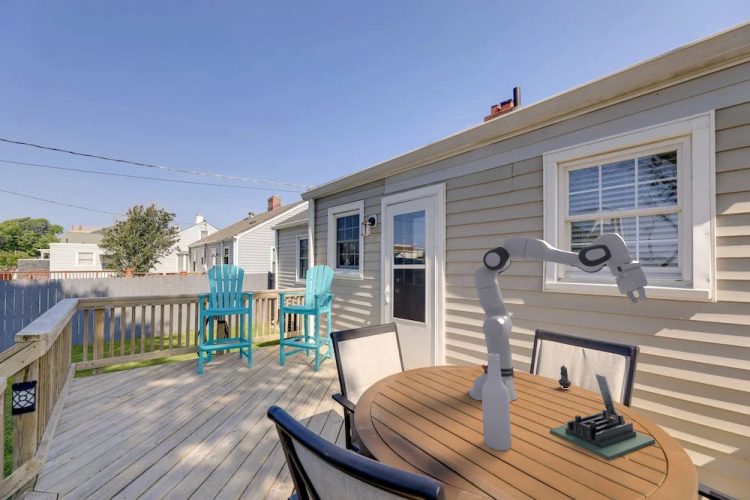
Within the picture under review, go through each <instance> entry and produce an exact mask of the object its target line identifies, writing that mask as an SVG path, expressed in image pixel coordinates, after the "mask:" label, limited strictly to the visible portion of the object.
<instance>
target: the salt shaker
mask: <svg viewBox="0 0 750 500" xmlns="http://www.w3.org/2000/svg"><path fill="white" fill-rule="evenodd" d="M559 373H560V378H559V379H558V380H557V381H558V384H559V385H560V387H561V386H563V388H568V387H569V388H570V387H571V385H572V382H571V381H570V380H569V377H568V375H569V373H568V368H567V367H566V366H565V365H564V364H563V365H562V366H561V367H560V372H559Z"/></svg>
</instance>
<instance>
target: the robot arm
mask: <svg viewBox="0 0 750 500" xmlns="http://www.w3.org/2000/svg"><path fill="white" fill-rule="evenodd" d="M629 251H630V250H629V248H628V246H627V244H626V243H625V241H624V239H623V238H622V237H621V235H620V234H618V233H615V232H606V233H603V234H599V235H598V236H597V237H596V239H595V240H593V242H592V243H590V244H589V245H586V246H585V247H583V248H582V249H581V250H580V251H579V252H574V251H573V252H572V251H567V250H561V249H557V248H555V247H554V246H551V245H550V244H549V243H547V242H546V241H545V240H542V239H539V238H535V237H527V236H510V237H507V238H505V239H504V241H503V243H502V246H498V247H495V248H492V249H490V250H487V252H485V254H484V255H483V258H482V261H483V265H482V266H480V267H478V268H477V269H475V271H474V283H475V287H476V292H477V295H478V299H479V300H478V301H479V304H480V306H481V308H482V309H483V311H484V314H485V316H486V319H485V320H484V321H483V324H482V331H483V333H484V339H485V343H486V344H485V345H486V349H487V350H486V351H487V355H488V354H489V353H495V354H498V355H499V358H500V360H499V362H500V370H501V378H502V382H503V383H504V385H505V386H506V387H507V389H508V392H509V404H510V403H511V402H512V401H515V400H517V399H518V395H517V391H516V388H515V387H516V386H515V381H514V379H515V378H514V377H515V372H514V371H515V370H514V367H513V359H512V358H513V357H512V348H511V344H510V339H509V334H510V333H511V331H512V329H513V321H512V319H511V317H510V314H509V311H508V309H507V306H506V304H505V301H504V298H503V295H502V291H501V289H500V288H501V287H500V286H499V281H498V275H500V274H501V273H504V272H505V271H506V270H507V269H509V268H510V267H511V264H512V260H514V259H517V260H525V261H532V262H547V263H548V262H549V263H557V264H562V265H566V266H572V267H575V268H578V269H580V270H582V272H585V273H589V274H595V273H598V272H600V271H602V269H603V268H604V266H605V265H607V266H608V268H609V271H610V273H611V274H612V277H615V279H614V280H615V283H616V285H617V289H618V290H619V293H620V294H621V295H626V296H627V298H628V300H630V302H631V303H632V304H636V303H638V302H639V301H638V299H639V300H640V301H645V300H647V299H648V297H647V295H646V290H645V287H647V286H648V279H647V277H646V275H645V273H644V271H643V269H642V263H641V262H640V261H636V260H634V258H633V256H632V255H631V254H630V252H629ZM635 291H636V292H637V294H638V299H637V297H636V296H635V295H634V292H635ZM481 368H482V369H483V370H484V371H483V373H481V374H480V375H479V376H477V377H476V378H474V380H473V385H472V388H471V387H470V388H469V389H468V392H469V393H468V395H469V397H471V398H472V399H473V400H476V401H482V387H483V385H484V383H485V382H486V381H487V374H488V364H486V365H485V364H481Z"/></svg>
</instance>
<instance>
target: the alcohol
mask: <svg viewBox="0 0 750 500" xmlns="http://www.w3.org/2000/svg"><path fill="white" fill-rule="evenodd" d="M486 359H487V365H488V374H487V381H486V382H485V383H484V385H483V387H482V400H481V401H482V403H481V405H482V428H483V442H484V444H485V446H486V447H487V448H488V449H491V450H493V449H494V451H498V452H506V450H507V451H508V450H510V448H511V447H512V429H511V425H512V424H511V410H510V409H511V408H510V403H509V392H508V389H507V387H506V386H505V385H504V383H503V382H502V378H501V370H500V362H499V360H500V358H499V355H498V354H495V353H489V354H488V353H487V358H486Z"/></svg>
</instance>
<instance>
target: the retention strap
mask: <svg viewBox="0 0 750 500" xmlns="http://www.w3.org/2000/svg"><path fill="white" fill-rule="evenodd" d="M594 375H595V378H596V381H597V384H598V388H599V391H600V394H601V397H602V400H603V401H602V402H603V404H604V407H605V409H606V410H607V413H608V416H610V417H611V418H613V417H614V418H617V419H618V416H617V415H618V411H617V409H616V405H615V401H614V400H613V396H612V393H611V390H610V386H609V384H608V380H607V378H606V375H604V374H600V373H595V374H594Z"/></svg>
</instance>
